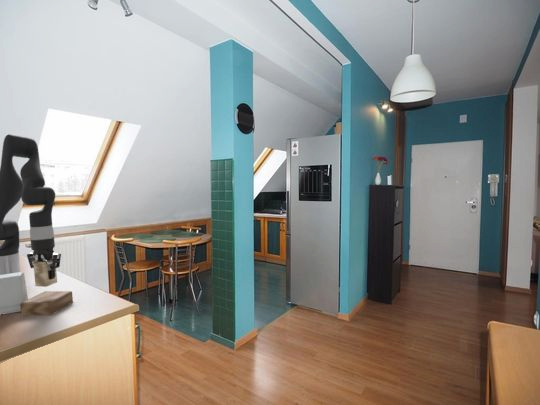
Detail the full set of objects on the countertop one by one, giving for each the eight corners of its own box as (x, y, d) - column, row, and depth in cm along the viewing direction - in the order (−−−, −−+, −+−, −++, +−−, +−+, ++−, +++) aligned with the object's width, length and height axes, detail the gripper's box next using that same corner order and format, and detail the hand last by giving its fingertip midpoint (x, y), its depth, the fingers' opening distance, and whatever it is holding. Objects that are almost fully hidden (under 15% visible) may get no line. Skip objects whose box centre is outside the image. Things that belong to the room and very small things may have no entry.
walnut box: (21, 315, 115) (20, 302, 114) (45, 302, 126) (44, 290, 126) (51, 315, 114) (50, 302, 114) (72, 302, 126) (72, 290, 126)
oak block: (35, 286, 117) (33, 261, 117) (46, 281, 122) (44, 258, 122) (46, 286, 117) (43, 262, 116) (57, 282, 122) (55, 258, 121)
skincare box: (29, 305, 123) (25, 270, 122) (24, 311, 118) (21, 275, 116) (3, 309, 119) (-1, 274, 118) (-3, 316, 114) (-7, 278, 113)
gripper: (17, 238, 115) (21, 281, 117) (49, 239, 113) (52, 282, 114) (36, 234, 123) (39, 274, 124) (65, 235, 120) (69, 276, 122)
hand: (46, 278), depth 119 cm, fingers closed on oak block, 5 cm apart
